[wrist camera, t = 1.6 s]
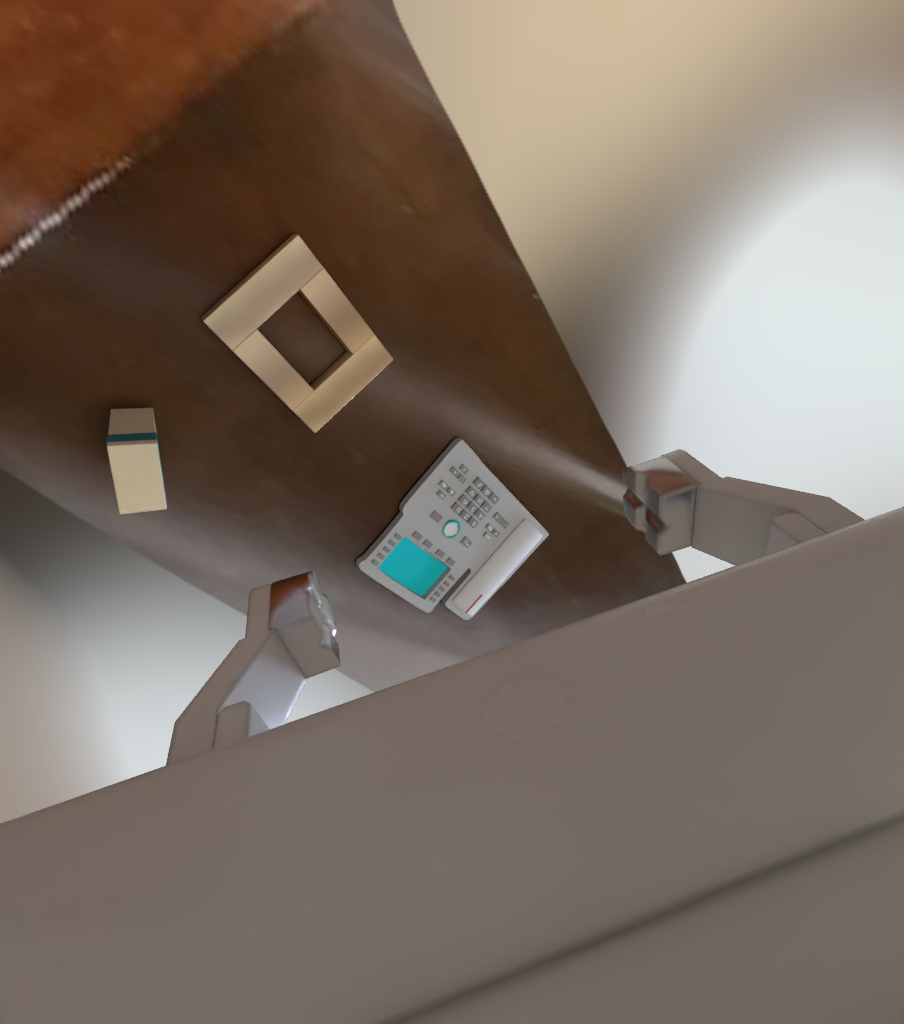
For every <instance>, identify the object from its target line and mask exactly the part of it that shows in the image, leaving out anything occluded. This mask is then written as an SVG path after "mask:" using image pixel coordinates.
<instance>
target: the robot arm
mask: <svg viewBox="0 0 904 1024" xmlns="http://www.w3.org/2000/svg"><path fill="white" fill-rule="evenodd" d="M623 483H624V484H625V485H626V486H627V487H628V489H627V491H626V492H625V494H624V496H623V505H624V510H625V513H626V516H627V518H628V520H629V522H630V523H631V525H632V526H633V527H634V528H635V529H636V530H639V531H642V532H645V533H646V541H647V542H648V543H649V544H650V545H651V546H652V547H653V548H654V549H655V550H656V552H657V553H658V554H659V555H660V556H661V555H664V554H667V553H670V552H673V551H676V550H680V549H683V548H686V547H689V546H692V547H693V548H695V549H697V550H700V551H702V552H704V553H707V554H709V555H712V556H714V557H716V558H719V559H721V560H723V561H726V562H728V563H731V564H733V565H735V566H734V567H731V568H728V569H725V570H723V571H720V572H717V573H714V574H711V575H708V576H706V577H703V578H700V579H697V580H694V581H691V582H688V583H686V584H683V585H680V586H677V587H674V588H671V589H668V590H666V591H663V592H660V593H657V594H654V595H651V596H648V597H646V598H643V599H640V600H637V601H634V602H631V603H628V604H626V605H623V606H620V607H617V608H614V609H611V610H608V611H606V612H603V613H600V614H597V615H594V616H591V617H588V618H586V619H583V620H580V621H577V622H574V623H571V624H569V625H566V626H563V627H560V628H557V629H554V630H552V631H549V632H546V633H543V634H540V635H537V636H535V637H532V638H529V639H526V640H523V641H520V642H518V643H515V644H512V645H509V646H506V647H503V648H501V649H498V650H495V651H492V652H489V653H486V654H483V655H481V656H478V657H475V658H472V659H469V660H466V661H463V662H461V663H458V664H455V665H452V666H449V667H446V668H444V669H441V670H438V671H435V672H432V673H429V674H426V675H424V676H421V677H418V678H415V679H412V680H409V681H406V682H404V683H401V684H398V685H395V686H392V687H389V688H387V689H384V690H381V691H378V692H375V693H372V694H369V695H367V696H364V697H361V698H358V699H355V700H352V701H350V702H347V703H344V704H341V705H338V706H335V707H332V708H329V709H327V710H324V711H321V712H318V713H315V714H312V715H310V716H307V717H304V718H301V719H298V720H295V721H293V722H290V723H287V724H286V722H287V720H288V718H289V716H290V713H291V711H292V710H293V707H294V705H295V703H296V701H297V699H298V697H299V695H300V693H301V691H302V689H303V687H304V685H305V683H306V679H307V678H309V677H312V676H315V675H317V674H320V673H323V672H325V671H328V670H331V669H333V668H336V667H339V666H340V659H339V648H338V643H337V641H336V639H335V638H334V635H335V633H336V632H337V628H336V621H335V617H334V613H333V609H332V607H331V604H330V602H329V600H328V598H327V596H326V595H325V594H323V593H321V589H320V582H319V580H318V578H317V576H316V574H315V573H314V572H313V571H310V572H306V573H303V574H300V575H297V576H293V577H290V578H287V579H283V580H280V581H277V582H274V583H272V584H268V585H265V586H261V587H258V588H255V589H252V591H251V592H250V594H249V604H248V614H247V625H246V634H245V639H242V640H239V641H238V643H237V644H236V645H235V647H234V648H233V649H232V650H231V652H230V653H229V654H228V655H227V657H226V658H225V659H224V660H223V662H222V663H221V664H220V666H219V667H218V668H217V669H216V671H215V672H214V673H213V675H212V676H211V677H210V678H209V680H208V681H207V682H206V683H205V685H204V686H203V687H202V688H201V690H200V691H199V692H198V694H197V695H196V696H195V697H194V699H193V700H192V701H191V703H190V704H189V705H188V706H187V708H186V709H185V710H184V711H183V713H182V714H181V715H180V717H179V718H178V719H177V720H176V722H175V724H174V729H173V734H172V739H171V744H170V748H169V753H168V758H167V763H166V766H164V767H161V768H158V769H155V770H153V771H150V772H147V773H144V774H141V775H138V776H136V777H133V778H130V779H127V780H124V781H121V782H119V783H116V784H113V785H110V786H107V787H104V788H102V789H99V790H96V791H93V792H90V793H87V794H84V795H81V796H78V797H76V798H73V799H70V800H67V801H64V802H62V803H59V804H56V805H53V806H50V807H47V808H44V809H42V810H39V811H36V812H33V813H30V814H27V815H24V816H21V817H18V818H15V819H12V820H9V821H6V822H3V823H0V1024H904V507H902V508H899V509H896V510H893V511H890V512H887V513H885V514H882V515H879V516H876V517H873V518H870V519H868V520H864V519H862V518H861V517H859V516H858V515H856V514H855V513H853V512H851V511H850V510H848V509H847V508H845V507H843V506H842V505H840V504H839V503H837V502H836V501H834V500H832V499H831V498H829V497H825V496H820V495H815V494H810V493H805V492H800V491H795V490H791V489H786V488H781V487H776V486H771V485H766V484H760V483H756V482H751V481H746V480H741V479H736V478H731V477H725V478H721V477H719V476H718V475H717V474H715V473H714V472H713V471H711V470H710V469H708V468H707V467H706V466H704V465H703V464H702V463H700V462H699V461H698V460H696V459H695V458H694V457H692V456H691V455H690V454H688V453H687V452H685V451H683V450H676V451H673V452H670V453H667V454H665V455H662V456H661V457H658V458H655V459H652V460H649V461H646V462H643V463H640V464H637V465H634V466H631V467H628V468H625V469H624V472H623Z"/></svg>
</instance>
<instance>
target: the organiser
mask: <svg viewBox="0 0 904 1024" xmlns="http://www.w3.org/2000/svg"><path fill="white" fill-rule="evenodd" d="M297 291H298V292H299V293H300V294H301V296H302V297H303V298H304V299H305V301H306V302H307V303H308V304H309V305H310V307H311V308H312V309H313V310H314V311H315V313H316V314H317V315H318V316H319V317H320V319H321V320H322V321H323V322H324V324H325V325H326V326H327V327H328V328H329V330H330V331H331V332H332V333H333V334H334V336H335V337H336V338H337V339H338V341H339V342H340V343H341V344H342V345H343V347H344V348H345V349H346V350H347V351H346V352H345V353H344V354H343V355H342V356H341V357H340V358H339V359H338V360H337V361H336V362H334V363H333V364H332V365H331V366H330V367H329V368H328V369H327V370H326V371H325V372H324V373H323V374H322V375H320V376H319V377H318V378H317V379H316V380H315V381H314V382H313V383H312V384H311V385H309V384H308V383H307V382H306V381H305V380H304V379H303V378H302V377H301V376H300V375H299V373H298V372H297V371H296V370H295V369H294V368H293V367H292V366H291V365H290V364H289V363H288V362H287V361H286V360H285V358H284V357H283V356H282V355H281V354H280V353H279V352H278V351H277V350H276V349H275V348H274V347H273V346H272V345H271V343H270V342H269V341H268V340H267V339H266V338H265V337H264V336H263V335H262V334H261V333H260V332H259V331H258V330H257V328H258V327H259V326H260V325H261V324H263V323H264V322H265V321H266V320H267V319H268V318H269V317H270V316H271V315H272V314H273V313H275V312H276V311H277V310H278V309H279V308H280V307H281V306H282V305H283V304H284V303H285V302H287V301H288V300H289V299H290V298H291V297H292V296H293V295H294V294H295V293H296V292H297ZM201 319H202V321H203V322H204V323H205V324H206V325H207V326H208V327H209V328H210V329H211V330H212V331H213V332H214V333H215V334H216V335H217V336H218V337H219V338H220V339H221V340H222V341H223V342H224V343H225V344H226V345H227V346H228V347H229V348H230V349H231V350H232V351H233V352H234V353H235V354H236V355H237V356H238V357H239V358H240V359H241V360H242V361H243V362H244V363H245V364H246V365H247V366H248V367H249V368H250V369H251V370H252V371H253V372H254V373H255V374H256V375H257V376H258V377H259V378H260V379H261V380H262V381H263V382H264V383H265V384H266V385H267V386H268V387H269V388H270V389H271V390H272V391H273V392H274V393H275V394H276V395H277V396H278V397H279V398H280V399H281V400H282V401H283V402H284V403H285V404H286V405H287V406H288V407H289V408H290V409H291V410H292V411H293V412H294V413H295V414H296V415H297V416H298V417H299V418H300V419H301V420H302V421H303V422H304V423H305V424H306V425H307V426H308V427H309V428H310V429H311V430H312V431H313V432H314V433H316V432H317V431H318V430H319V429H320V428H321V427H322V426H323V425H324V424H325V423H327V422H328V421H329V420H330V419H331V418H332V417H333V416H334V415H335V414H336V413H337V412H338V411H339V410H340V409H341V408H343V407H344V406H345V405H346V404H347V403H348V402H349V401H350V400H351V399H352V398H353V397H354V396H355V395H356V394H357V393H358V392H360V391H361V390H362V389H363V388H364V387H365V386H366V385H367V384H368V383H369V382H370V381H371V380H372V379H373V378H374V377H376V376H377V375H378V374H379V373H380V372H381V371H382V370H383V369H384V368H385V367H386V366H387V365H388V364H389V363H390V362H391V361H393V358H392V357H391V355H390V354H389V353H388V351H387V350H386V349H385V347H384V346H383V345H382V344H381V342H380V341H379V340H378V338H377V337H376V336H375V335H374V333H373V332H372V330H371V329H370V328H369V326H368V325H367V324H366V322H365V321H364V320H363V319H362V317H361V316H360V315H359V313H358V312H357V311H356V309H355V308H354V307H353V305H352V304H351V303H350V302H349V300H348V299H347V298H346V296H345V295H344V294H343V292H342V291H341V290H340V288H339V287H338V286H337V285H336V283H335V282H334V281H333V279H332V278H331V277H330V275H329V274H328V273H327V271H326V270H325V269H324V268H323V266H322V265H321V264H320V262H319V261H318V260H317V258H316V257H315V256H314V254H313V253H312V252H311V250H310V249H309V248H308V247H307V245H306V244H305V243H304V241H303V240H302V239H301V237H300V236H299V235H292V236H290V237H289V238H288V239H287V240H286V241H285V242H284V243H283V244H282V245H280V246H279V247H278V248H277V249H276V250H275V251H274V252H273V253H272V254H271V255H269V256H268V257H267V258H266V259H265V260H264V261H263V262H262V263H261V264H259V265H258V266H257V267H256V268H255V269H254V270H253V271H252V272H251V273H250V274H248V275H247V276H246V277H245V278H244V279H243V280H242V281H241V282H240V283H239V284H237V285H236V286H235V287H234V288H233V289H232V290H231V291H230V292H229V293H227V294H226V295H225V296H224V297H223V298H222V299H221V300H220V301H219V302H218V303H216V304H215V305H214V306H213V307H212V308H211V309H210V310H209V311H208V312H207V313H205V314H204V315H203V316H202V317H201Z"/></svg>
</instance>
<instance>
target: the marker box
mask: <svg viewBox="0 0 904 1024" xmlns="http://www.w3.org/2000/svg"><path fill="white" fill-rule="evenodd" d="M106 444H107V450H108V455H109V461H110V466H111V471H112V476H113V481H114V487H115V492H116V497H117V502H118V507H119V512H120V514H127V513H136V512H145V511H154V510H163V509H167V500H166V493H165V486H164V479H163V472H162V466H161V459H160V452H159V445H158V439H157V433H156V426H155V419H154V413H153V408H130V409H111V413H110V422H109V431H108V435H107V440H106Z"/></svg>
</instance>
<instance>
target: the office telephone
mask: <svg viewBox="0 0 904 1024" xmlns="http://www.w3.org/2000/svg"><path fill="white" fill-rule="evenodd" d="M399 509H400V512H399V513H398V515H397V516H396V517H395V519H394V520H393V521H392V522H391V523H390V525H389V526H388V527H387V528H386V529H385V531H384V532H383V533H382V534H381V535H380V536H379V538H378V539H377V540H376V541H375V542H374V543H373V544H372V546H371V547H370V548H369V549H368V550H367V551H366V552H365V553H364V554H363V555H362V556H361V557H359V558H358V559H357V560H356V564H357V566H358V567H359V568H360V570H362V571H363V572H364V573H366V574H367V575H369V576H370V577H372V578H373V579H375V580H376V581H378V582H379V583H380V584H382V585H383V586H385V587H386V588H388V589H389V590H391V591H393V592H394V593H396V594H397V595H399V596H400V597H402V598H403V599H405V600H407V601H408V602H410V603H411V604H413V605H414V606H416V607H418V608H420V609H421V610H423V611H425V612H427V613H430V612H431V611H432V610H433V608H434V607H435V606H436V604H437V603H438V602H439V601H440V600H441V599H442V602H443V603H444V605H445V606H446V607H447V608H449V609H450V610H451V611H453V612H454V613H456V614H457V615H458V616H460V617H461V618H463V619H465V620H468V619H470V618H472V617H473V616H474V615H475V614H476V613H477V612H478V611H479V610H480V609H481V607H482V606H483V605H484V604H485V603H486V602H487V601H488V600H489V599H490V598H491V597H492V596H493V594H494V593H495V592H496V591H497V590H499V588H500V587H501V586H502V585H503V584H504V583H505V582H506V581H507V580H508V579H509V578H510V577H511V576H512V574H513V573H514V572H515V571H516V570H517V569H518V568H519V567H520V566H521V565H522V564H523V562H524V561H525V560H526V559H527V558H528V557H529V556H530V555H531V554H532V553H533V551H534V550H535V549H536V548H537V547H538V546H539V545H540V544H541V543H542V542H543V541H544V540H545V539H546V538H547V536H548V532H547V531H546V530H545V529H544V528H543V527H542V526H541V525H540V523H539V522H538V521H537V520H536V519H535V518H534V517H533V516H532V515H531V514H530V513H529V512H528V511H527V510H526V509H525V508H524V506H523V505H522V504H521V503H520V502H519V501H518V500H517V499H516V498H515V497H514V496H513V495H512V494H511V493H510V492H509V491H508V489H507V488H506V487H505V486H504V485H503V484H502V483H501V482H500V481H499V480H498V479H497V478H496V477H495V476H494V475H493V474H492V473H491V471H490V470H489V469H488V468H487V467H486V466H485V465H484V464H483V463H482V462H481V460H480V459H479V457H478V456H477V455H476V454H475V453H474V451H473V450H472V449H471V448H470V447H469V446H468V445H467V444H466V443H465V442H464V441H463V440H462V439H461V438H459V437H457V438H456V439H454V440H453V441H452V443H451V444H450V445H449V446H448V447H447V448H446V449H445V451H444V452H443V453H442V454H441V455H440V456H439V458H438V459H437V460H436V461H435V462H434V463H433V465H432V466H431V467H430V468H429V469H428V470H427V472H426V473H425V474H424V475H423V476H422V477H421V479H420V480H419V481H418V482H417V483H416V485H415V486H414V487H413V488H412V489H411V490H410V492H409V493H408V494H407V495H406V496H405V498H404V499H403V500H402V502H401V503H400V505H399ZM424 548H425V549H424ZM428 551H429V552H430V553H429V552H428ZM432 554H433V555H434V556H433V555H432ZM436 557H437V558H438V559H437V558H436ZM440 560H441V561H442V562H441V561H440ZM444 563H445V564H446V565H447V566H446V565H445V564H444ZM450 588H451V589H450ZM449 589H450V590H449ZM444 595H445V596H444ZM443 596H444V597H443ZM442 597H443V598H442Z"/></svg>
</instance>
